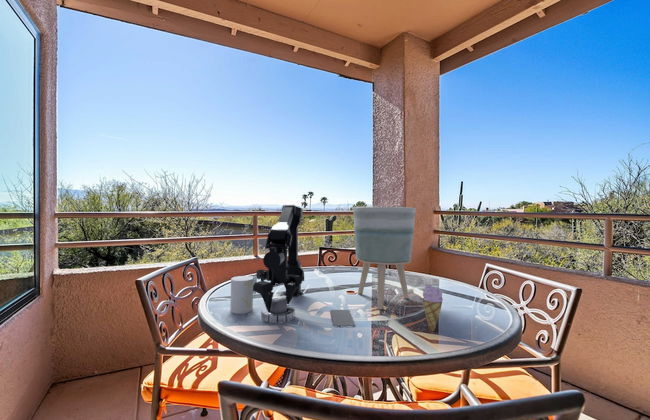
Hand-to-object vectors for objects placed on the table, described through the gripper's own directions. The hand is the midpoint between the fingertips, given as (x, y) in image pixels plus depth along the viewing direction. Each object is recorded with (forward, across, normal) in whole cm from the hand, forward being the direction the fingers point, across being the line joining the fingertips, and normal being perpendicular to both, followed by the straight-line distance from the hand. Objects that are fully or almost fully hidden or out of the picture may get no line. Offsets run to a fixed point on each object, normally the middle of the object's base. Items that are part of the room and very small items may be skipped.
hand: (278, 307), depth 102 cm
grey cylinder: (+4, +4, -16) cm, 17 cm away
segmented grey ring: (+4, 0, 0) cm, 4 cm away
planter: (+4, -43, +19) cm, 47 cm away
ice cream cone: (+4, -25, +46) cm, 52 cm away
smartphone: (+4, -14, +18) cm, 23 cm away
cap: (+4, 0, 0) cm, 4 cm away
